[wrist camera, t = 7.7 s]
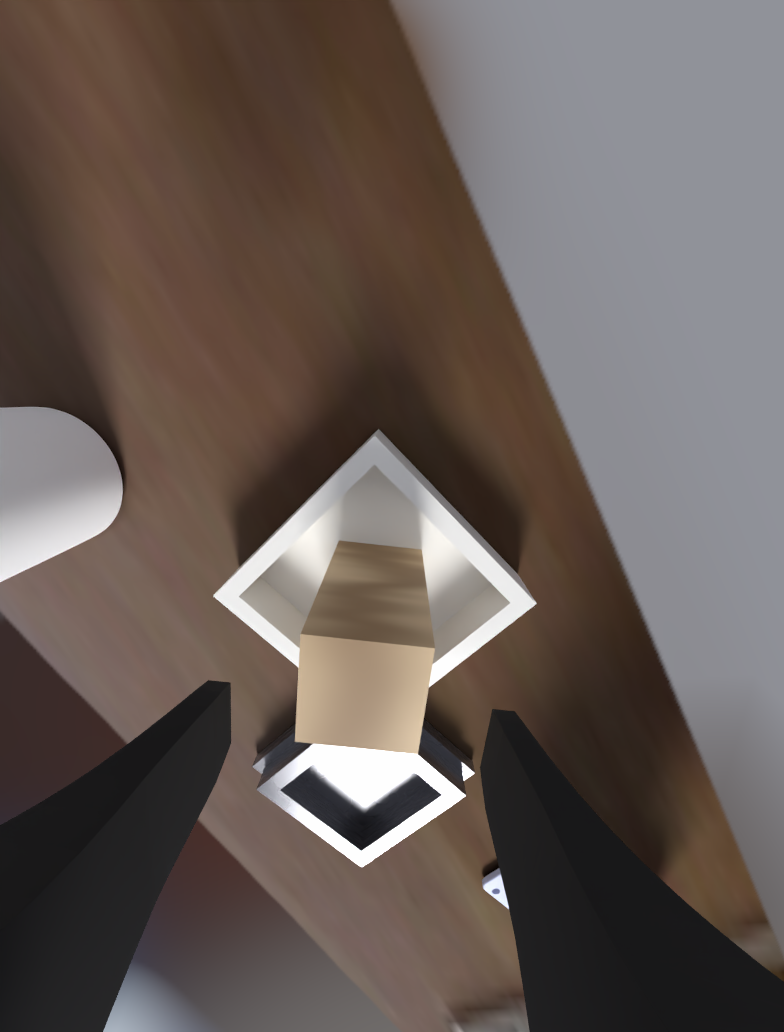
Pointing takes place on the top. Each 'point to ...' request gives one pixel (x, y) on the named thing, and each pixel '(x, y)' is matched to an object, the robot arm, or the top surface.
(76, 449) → the can
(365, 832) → the stud socket
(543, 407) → the top surface
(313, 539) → the bin tray
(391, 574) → the peg
